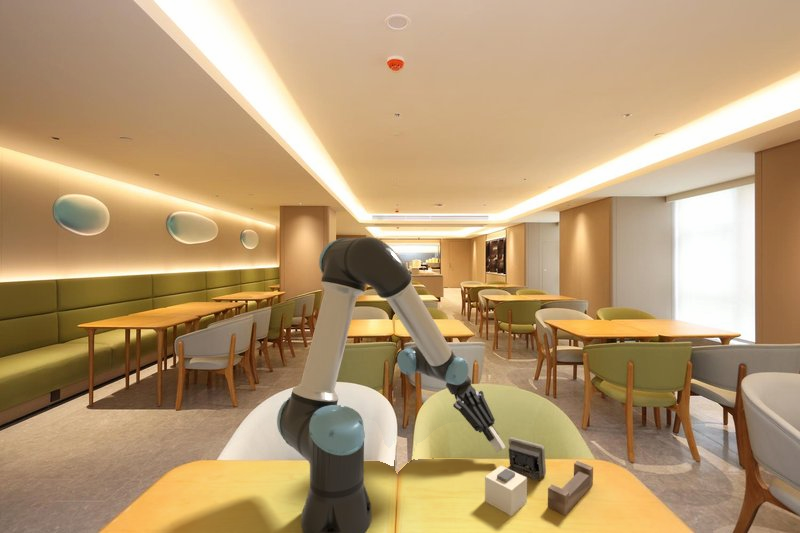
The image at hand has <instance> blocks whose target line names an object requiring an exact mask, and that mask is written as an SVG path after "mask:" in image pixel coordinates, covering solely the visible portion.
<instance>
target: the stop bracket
mask: <svg viewBox="0 0 800 533" xmlns="http://www.w3.org/2000/svg"><path fill="white" fill-rule="evenodd" d="M593 485H594V467H593V466H591V465H589V464H587V463H585V462H583V461H582V462H581V461H579V460H576V461H575V462H574V463H573V477H571V478H570V479H569V480H568V481H567V483H566V484H565V485H564V486H562V487H558V486H557V485H554V484H550V486H548V487H547V507H548V508H549V509H550V510H552V511H555V512H557V513H559V514H561V515H563V516H566V515H567V514H568V513H569V512H570V511H571V509H573V507H574V506H575V505H576V504H577V503H578V502H579V501H580V499H581V498H582V497H583V496H584V495H585V494H586V493H587V492H588V491H589V489H590V488H591V487H592V486H593Z"/></svg>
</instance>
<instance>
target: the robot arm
mask: <svg viewBox="0 0 800 533" xmlns="http://www.w3.org/2000/svg"><path fill="white" fill-rule="evenodd" d="M318 260H319V261H318V265H319V269H320V270H321V274H322V276H321V279H320V280H321V281H320V285H321V286H322V287H323V289H324V293H323V296H322V301H321V304H320V308H319V311H318V315H317V318H316V322H315V327H314V331H313V335H312V338H311V342H310V346H309V351H308V354H307V358H306V361H305V365H304V369H303V374H302V378H301V381H300V383H299V384H298V385H296V386H295V387H293V389H292V391H291V395H290V396H289V397H288V398H287V400H285V401H284V402H283V403H282V405H281V406H280V407H279V410H278V413H277V418H276V425H277V430H278V433H279V435H280V436H281V437H282V439H283V440H284V441H285V444H287V445H289V446H290V447H291V448H293V449H294V450H295V451H296V452H297V453H298V454H300V455H301V456H302V457H303V458H304V459H306V461H308V463H309V490H308V494H307V496H306V500H305V504H304V507H302V508H303V509H302V511H301V530H302V533H366V532H367V531H368V529H369V528H370V525H371V523H372V505H371V501H370V498H369V495H368V492H367V489H366V486H365V483H364V480H365V476H364V470H365V467H364V466H365V464H364V461H365V458H364V457H365V437H366V436H365V435H366V433H365V426H364V419H363V417H362V416H361V414H360V413H359V412H358V411H357V410H355V409H354V408H351V407H349V406H346V405H344V406H342V405H339V404H338V401H339V395H338V394H337V393H336V390H335V389H336V385H337V380H338V377H339V372H340V369H341V364H342V361H343V356H344V351H345V347H346V345H347V344H346V343H347V339H348V336H349V330H350V327H351V324H352V318H353V314H354V310H355V307H356V303H357V299H358V298H359V297H361V296H362V295H364V293H365V289H366V287H367V286H369V287H371V289H373V290H374V291H375V292H376V293H377V295H378V296H379V298H381V299H383V300H384V299H385V300H386V302H387V303H388V304H389V306H390V308H391V309H392V311H393V312H394V313H395V315H396V316H397V317H398V320H399V321H400V322H401V324H402V325H403V327H404V328H405V330H406V332H407V333H408V335H409V336H410V338H411V340H413V342H414V344H415V346H411V347H407V348H405V349H402V350H400V351H399V353H398V354H397V357H396V358H397V366H398V368H399V370H400V371H401V373H402V374H404V375H414V374H415V373H419V374H421V375H424V376H427V377H430V378H433V379H436V380H438V381H439V380H440V381H442V382H443V383H444V384H445V386H446V389H447V390H448V391H449V393H450V394H451V395H454V398H455V402H454V403H453V404H452V405H453V406H452V407H453V408H455V410H457V411H458V412H459V413H460V414H461V415H462V416H463V417H464V419H465V420H466V421H467V422H468V424H469V425H470V427H472V428H473V429H474V431H475V432H478V433H483V435H484V436H485V439H486V440H487V441H488V442H490V444H491V446H492V447H493V449H494V451H495V453H496V454H497V453H499V452H501V451H502V450H503V449H505V448H506V445H505V444H504V442H503V440H502V439H501V437H500V435H499V433H498V431H497V430H496V428H495V427H494V426H493V425H494V424H495V421H496V419H495V417H494V415H493V413H492V411H491V409H490V407H489V405H488V403H487V400H486V399H485V395H484V392H483V391H482V390H479V391H477V390H476V389H475V388H474V387H473V385H471V384H472V380H471V378H470V377H469V372H470V366H469V363H468V361H467V360H466V359H464V357H463V358H462V357H461V356H456V354H455V353H454V352H453V350H452V349H451V346H450V345H449V344H448V342H447V340H446V338H445V337H444V335H443V334H442V332H441V330H440V329H439V327H438V325H437V323H436V322H435V320H434V318H433V317H432V315H431V313H430V312H429V310H428V308H427V307H426V305H425V303H424V302H423V300H422V298H421V297H420V295H419V293H418V291H417V290H416V288H415V286H414V285H413V283H412V281H413V276H412V273H411V272H410V271H409V269H408V267H407V266H406V264H405V263H404V261H403V260H402V259H401V258H400V256H399V255H398V254H397V253H396V251H394V249H392V247H391V246H389V245H388V244H387V243H386V242H385V241H382V240H381V239H378V238H377V237H373V236H363V237H354V238H353V237H352V238H351V237H350V238H349V237H343V238H338V239H335V240H333V241H330V242H329V243H327V244H326V246H324V248H323V249H322V251H321V253H320V256H319V259H318Z"/></svg>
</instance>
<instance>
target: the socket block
mask: <svg viewBox="0 0 800 533" xmlns="http://www.w3.org/2000/svg"><path fill="white" fill-rule="evenodd" d="M484 502H485V503H487V504H488V505H489V504H490V505H491V506H493V507H495V508H497V509H498V510H500V511H502V512H503V513H505V514H506V515H509V516H510V517H512V516H513V515H515V513H517V512H518V511H519V510H520V509H521V508H522V507H523V506H524V505H525V504H527V502H528V477H526V476H523V475H520V474H518V473H516V472H514V471H512V469H511V470H510V469H509V468H507V467H505V466H504V465H499V466H498V467H497V468H495V469H494V470H493V471H491V472H490V473H488V474H487V475H485V476H484Z"/></svg>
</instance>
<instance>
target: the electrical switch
mask: <svg viewBox="0 0 800 533" xmlns="http://www.w3.org/2000/svg"><path fill="white" fill-rule="evenodd" d="M507 443H508V445H509V446H508V458H509V459H508V460H509V468H510V470H512V471H514V472H516V473H518V474H520V475H522V476H524V477H527V478H530V479H531V480H536V481H538V482H540V481H541V478H542V476H543V477H545V476H546V473H547V470H546V469H547V468H546V465H547V464H546V451H545V449H546V448H545V447H544V445H543V444H540V443H535V442H531V441H528V440H524V439H520V438H517V437H513V436H509V438H508V442H507ZM526 471H527V472H526Z"/></svg>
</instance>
